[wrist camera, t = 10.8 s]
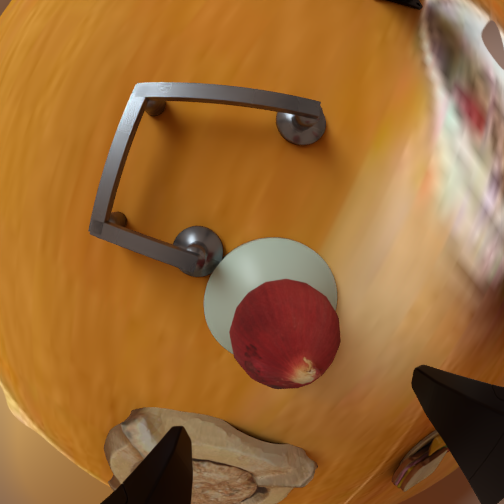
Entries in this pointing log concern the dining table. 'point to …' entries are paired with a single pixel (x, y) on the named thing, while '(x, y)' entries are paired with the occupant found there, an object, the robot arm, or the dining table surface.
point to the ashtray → (212, 457)
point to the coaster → (260, 278)
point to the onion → (285, 334)
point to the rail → (153, 102)
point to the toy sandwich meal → (420, 461)
